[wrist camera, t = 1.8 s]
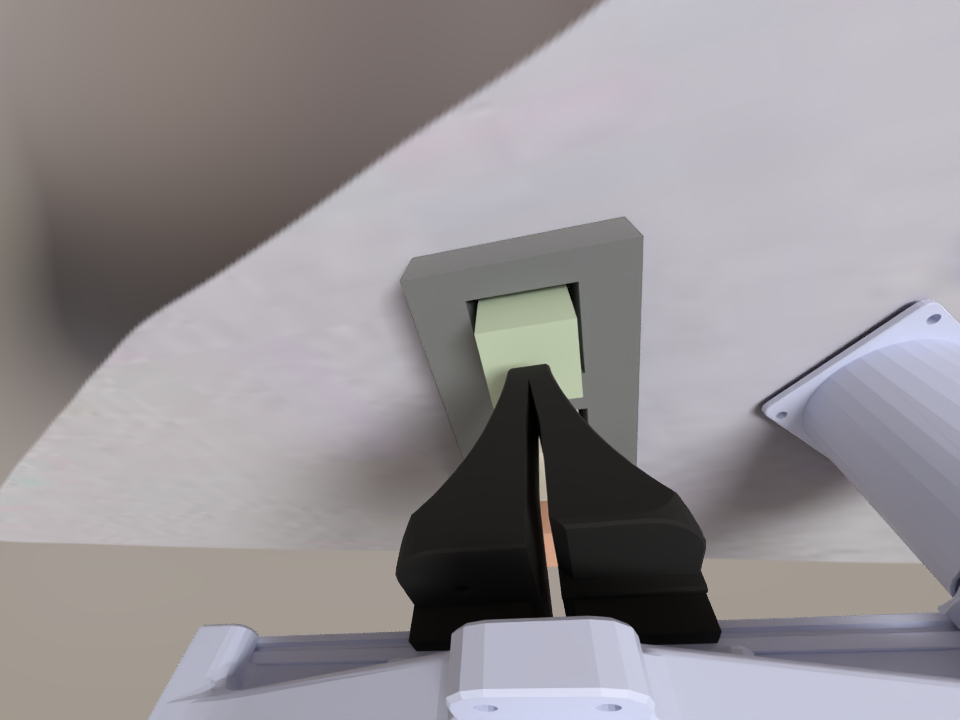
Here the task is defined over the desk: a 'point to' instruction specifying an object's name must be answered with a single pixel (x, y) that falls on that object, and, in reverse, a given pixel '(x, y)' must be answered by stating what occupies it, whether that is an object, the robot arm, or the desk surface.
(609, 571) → the robot arm
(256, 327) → the desk surface
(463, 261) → the button panel
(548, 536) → the terracotta button
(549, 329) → the sage button
